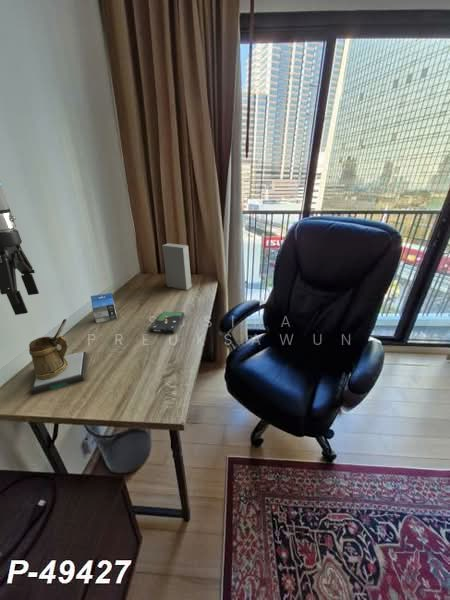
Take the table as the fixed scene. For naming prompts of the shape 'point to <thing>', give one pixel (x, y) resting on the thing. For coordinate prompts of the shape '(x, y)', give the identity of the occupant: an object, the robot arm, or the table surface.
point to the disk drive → (167, 322)
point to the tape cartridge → (103, 307)
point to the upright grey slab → (177, 266)
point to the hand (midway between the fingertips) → (28, 303)
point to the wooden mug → (49, 355)
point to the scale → (64, 374)
